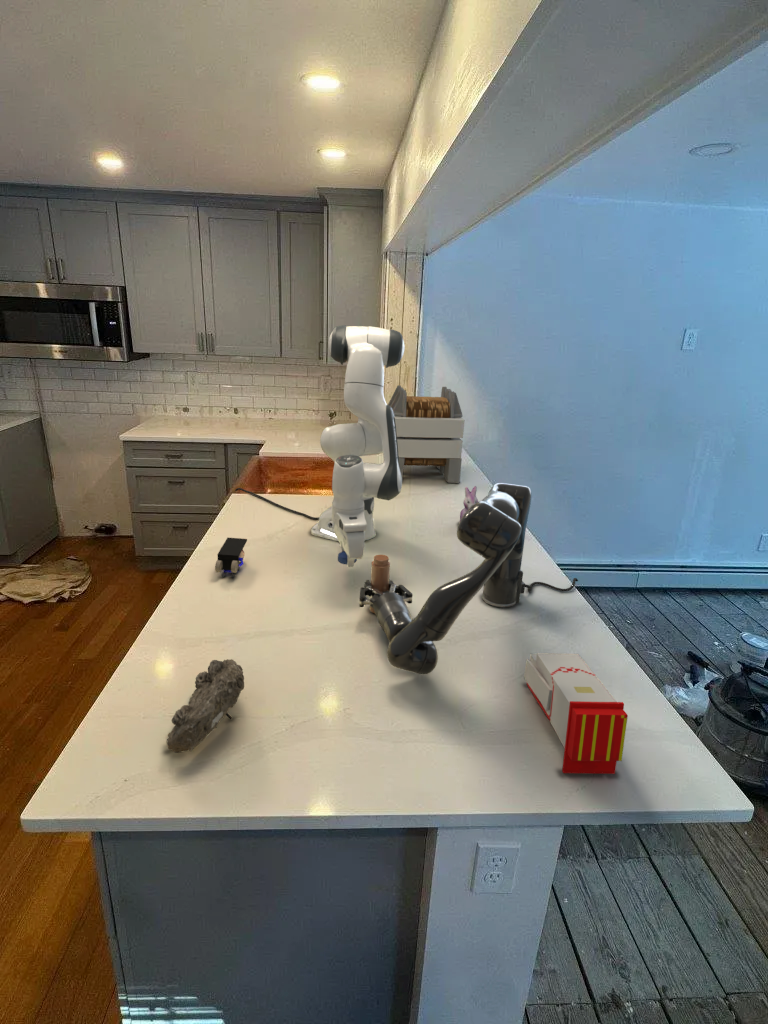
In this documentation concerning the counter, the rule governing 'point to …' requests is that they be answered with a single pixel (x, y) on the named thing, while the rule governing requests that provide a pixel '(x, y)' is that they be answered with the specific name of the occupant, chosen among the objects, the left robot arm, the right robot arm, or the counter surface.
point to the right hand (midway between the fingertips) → (377, 582)
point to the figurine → (469, 500)
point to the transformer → (429, 431)
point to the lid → (343, 558)
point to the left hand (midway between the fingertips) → (347, 561)
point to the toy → (578, 711)
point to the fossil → (206, 705)
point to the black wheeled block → (230, 556)
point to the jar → (380, 574)
